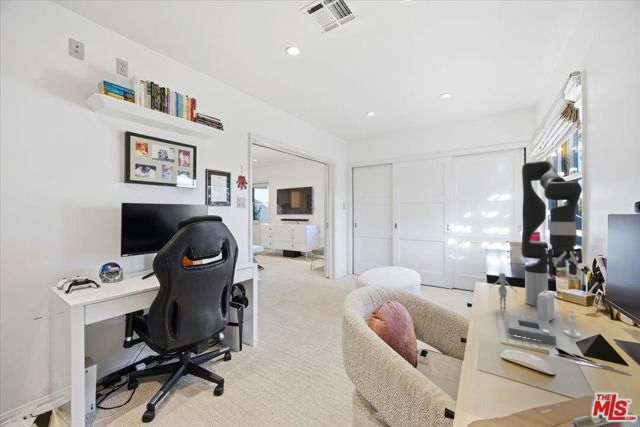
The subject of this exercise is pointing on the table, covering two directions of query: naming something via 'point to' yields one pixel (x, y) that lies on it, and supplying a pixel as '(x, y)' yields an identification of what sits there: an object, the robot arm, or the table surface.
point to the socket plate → (531, 329)
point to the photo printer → (545, 306)
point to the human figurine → (502, 288)
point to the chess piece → (572, 327)
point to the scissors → (587, 361)
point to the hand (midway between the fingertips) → (562, 275)
